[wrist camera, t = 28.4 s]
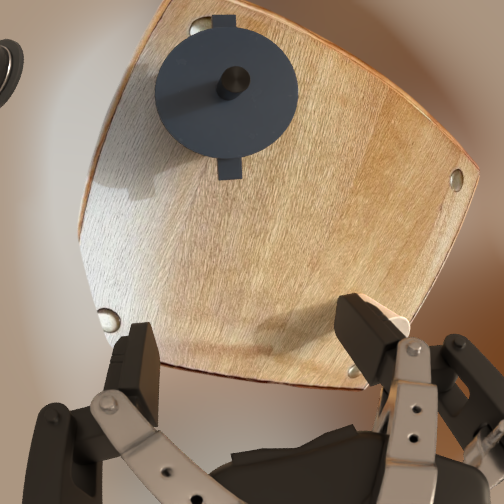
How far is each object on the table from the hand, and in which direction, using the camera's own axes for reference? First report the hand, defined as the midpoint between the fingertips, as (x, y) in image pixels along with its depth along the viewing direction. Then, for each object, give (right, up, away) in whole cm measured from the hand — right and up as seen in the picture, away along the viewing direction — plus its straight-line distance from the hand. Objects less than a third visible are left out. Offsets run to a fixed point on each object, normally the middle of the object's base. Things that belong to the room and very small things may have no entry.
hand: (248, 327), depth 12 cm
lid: (-2, +18, +12) cm, 22 cm away
